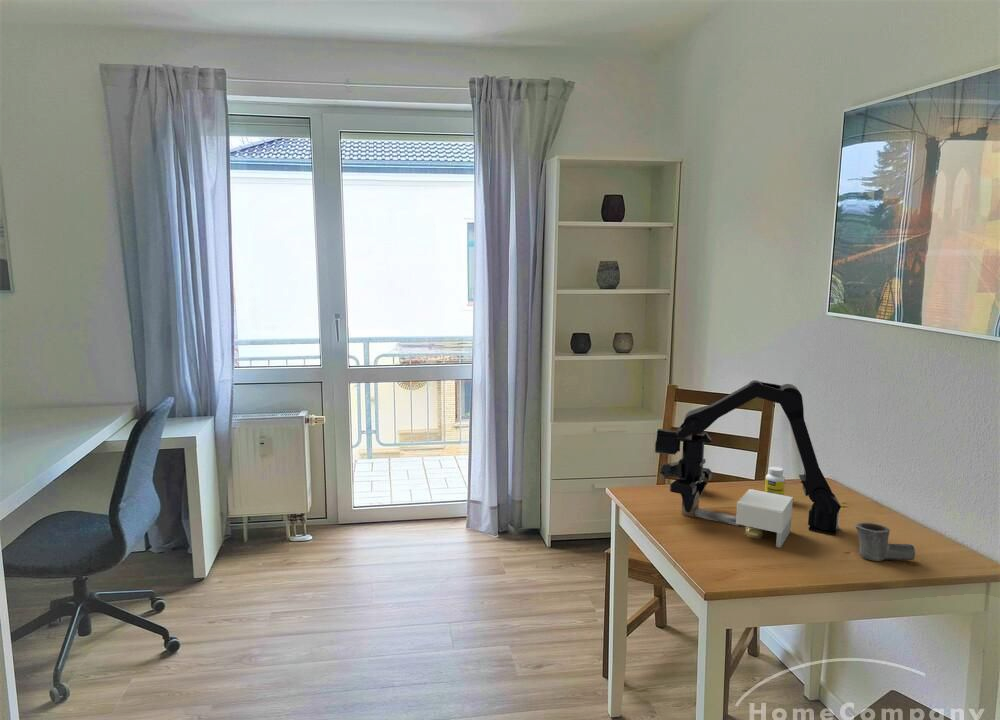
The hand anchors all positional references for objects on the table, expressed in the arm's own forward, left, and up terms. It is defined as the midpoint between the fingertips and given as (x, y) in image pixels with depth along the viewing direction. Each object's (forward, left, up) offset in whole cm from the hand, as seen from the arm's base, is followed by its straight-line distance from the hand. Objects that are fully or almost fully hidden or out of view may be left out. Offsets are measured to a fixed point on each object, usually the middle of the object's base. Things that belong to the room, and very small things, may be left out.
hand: (690, 509), depth 186 cm
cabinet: (-21, +3, -1) cm, 21 cm away
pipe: (-48, +2, -2) cm, 48 cm away
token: (-19, +5, -2) cm, 19 cm away
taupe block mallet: (-6, 0, -1) cm, 6 cm away
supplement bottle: (-17, -26, -2) cm, 31 cm away
